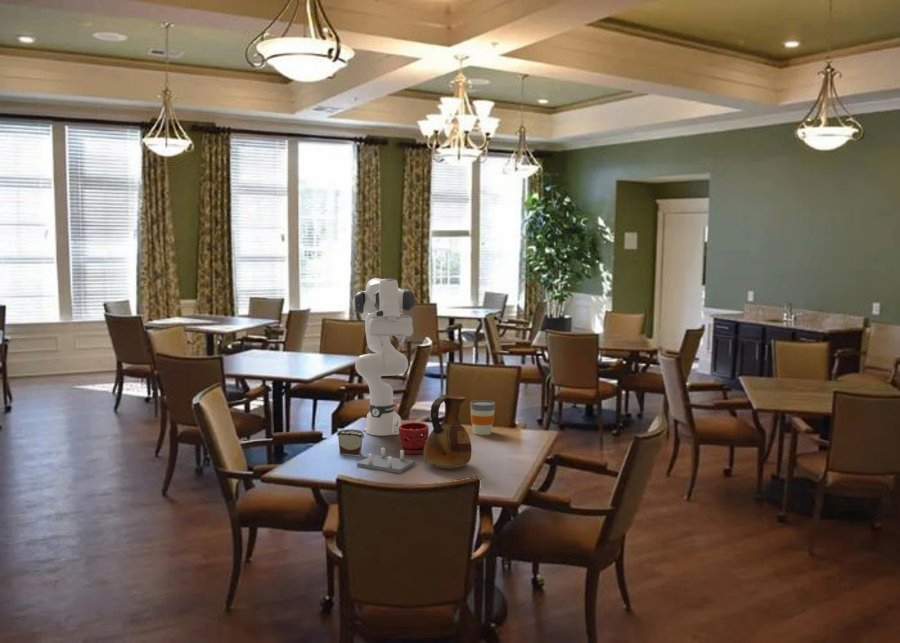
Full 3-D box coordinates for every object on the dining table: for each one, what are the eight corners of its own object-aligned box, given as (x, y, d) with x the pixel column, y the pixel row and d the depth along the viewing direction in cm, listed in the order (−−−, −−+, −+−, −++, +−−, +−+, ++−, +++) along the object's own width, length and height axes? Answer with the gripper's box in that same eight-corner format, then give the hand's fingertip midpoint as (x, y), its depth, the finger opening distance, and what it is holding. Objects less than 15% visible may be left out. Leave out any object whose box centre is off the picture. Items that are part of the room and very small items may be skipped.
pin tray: (373, 458, 334) (373, 445, 333) (415, 464, 326) (415, 451, 326) (357, 466, 321) (357, 453, 321) (400, 473, 313) (400, 459, 313)
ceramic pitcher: (480, 466, 325) (482, 396, 322) (446, 476, 311) (447, 402, 308) (448, 456, 339) (449, 389, 336) (413, 465, 325) (415, 394, 322)
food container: (368, 452, 343) (368, 430, 342) (362, 456, 337) (363, 433, 336) (342, 450, 346) (342, 428, 345) (336, 453, 340) (336, 431, 339)
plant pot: (409, 446, 354) (409, 420, 353) (433, 451, 348) (434, 424, 346) (392, 452, 343) (393, 426, 342) (417, 457, 336) (418, 430, 335)
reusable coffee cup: (466, 434, 378) (467, 404, 377) (473, 428, 390) (473, 399, 389) (491, 436, 375) (492, 406, 373) (497, 430, 387) (498, 401, 385)
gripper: (409, 316, 345) (410, 347, 343) (365, 315, 337) (366, 346, 334) (414, 313, 340) (416, 344, 337) (370, 312, 331) (371, 344, 329)
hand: (391, 345), depth 336 cm, fingers open, 8 cm apart
